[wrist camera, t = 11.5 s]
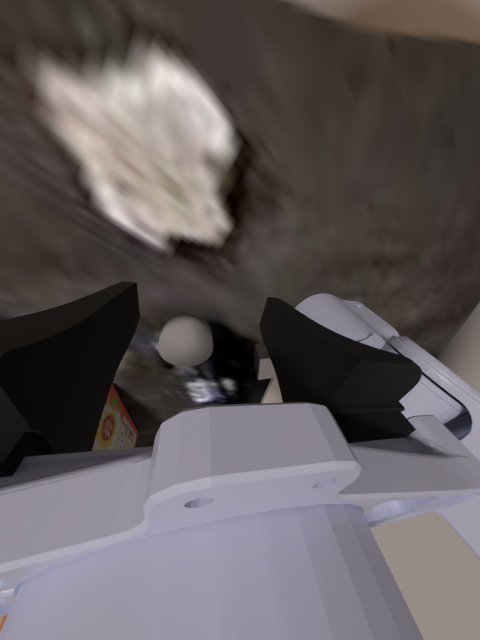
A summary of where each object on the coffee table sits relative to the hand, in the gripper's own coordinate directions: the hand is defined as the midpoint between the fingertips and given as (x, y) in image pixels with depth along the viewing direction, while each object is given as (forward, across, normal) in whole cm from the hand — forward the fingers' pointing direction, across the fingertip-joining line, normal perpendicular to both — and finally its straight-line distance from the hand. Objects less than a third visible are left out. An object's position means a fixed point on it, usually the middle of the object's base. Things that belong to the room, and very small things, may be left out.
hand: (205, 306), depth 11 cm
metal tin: (+10, -11, +12) cm, 19 cm away
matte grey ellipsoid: (+10, +1, +10) cm, 14 cm away
